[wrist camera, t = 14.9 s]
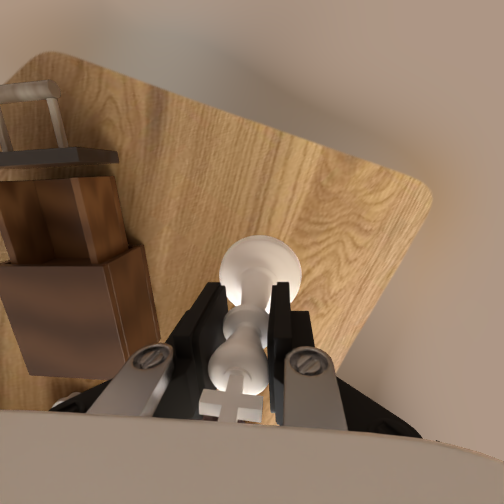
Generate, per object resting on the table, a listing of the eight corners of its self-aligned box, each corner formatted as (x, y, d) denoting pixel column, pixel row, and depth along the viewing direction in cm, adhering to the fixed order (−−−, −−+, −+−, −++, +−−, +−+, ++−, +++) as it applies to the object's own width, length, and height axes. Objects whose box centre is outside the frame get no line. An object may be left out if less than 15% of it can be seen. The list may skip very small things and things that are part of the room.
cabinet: (52, 245, 33) (-12, 266, 26) (144, 244, 32) (102, 266, 24) (78, 336, 37) (29, 375, 30) (160, 339, 36) (129, 381, 28)
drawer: (8, 100, 28) (-61, 83, 22) (105, 90, 26) (58, 69, 21) (54, 261, 33) (8, 279, 27) (138, 261, 31) (107, 280, 26)
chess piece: (297, 313, 16) (316, 516, 7) (220, 306, 17) (138, 486, 7) (305, 237, 15) (343, 364, 5) (220, 232, 15) (115, 339, 6)
